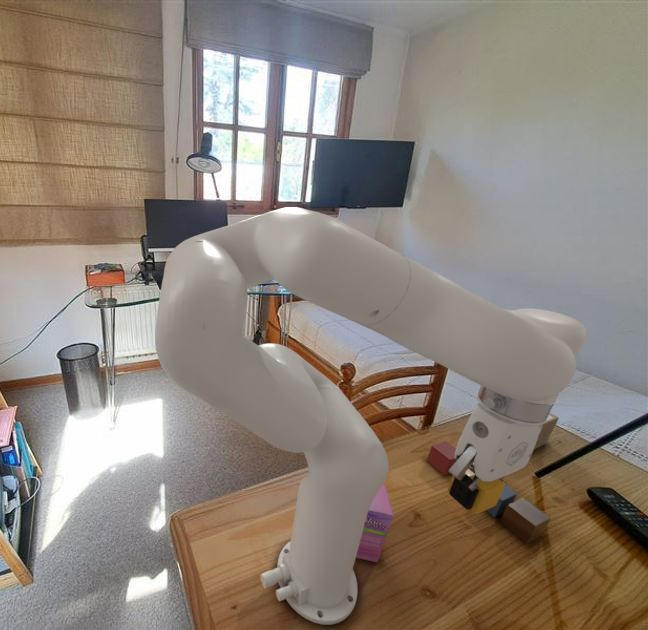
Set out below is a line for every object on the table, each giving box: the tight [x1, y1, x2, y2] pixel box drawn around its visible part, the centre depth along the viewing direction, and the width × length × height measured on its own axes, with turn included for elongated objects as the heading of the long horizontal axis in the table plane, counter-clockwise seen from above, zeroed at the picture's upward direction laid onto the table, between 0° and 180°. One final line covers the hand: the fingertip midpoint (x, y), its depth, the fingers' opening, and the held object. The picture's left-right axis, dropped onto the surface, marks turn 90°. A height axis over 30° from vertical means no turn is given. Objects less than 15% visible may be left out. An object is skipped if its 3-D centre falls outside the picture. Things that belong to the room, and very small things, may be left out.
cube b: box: [485, 484, 518, 518], centre depth 68 cm, size 5×5×5 cm
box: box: [356, 482, 394, 563], centre depth 60 cm, size 10×6×12 cm, turn 168°
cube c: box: [426, 440, 456, 476], centre depth 77 cm, size 5×5×5 cm
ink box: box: [534, 412, 560, 450], centre depth 84 cm, size 10×4×8 cm, turn 113°
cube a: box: [499, 497, 551, 544], centre depth 63 cm, size 5×5×5 cm
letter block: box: [447, 463, 507, 515], centre depth 52 cm, size 5×5×5 cm
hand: (471, 495), depth 52 cm, fingers closed on letter block, 4 cm apart
